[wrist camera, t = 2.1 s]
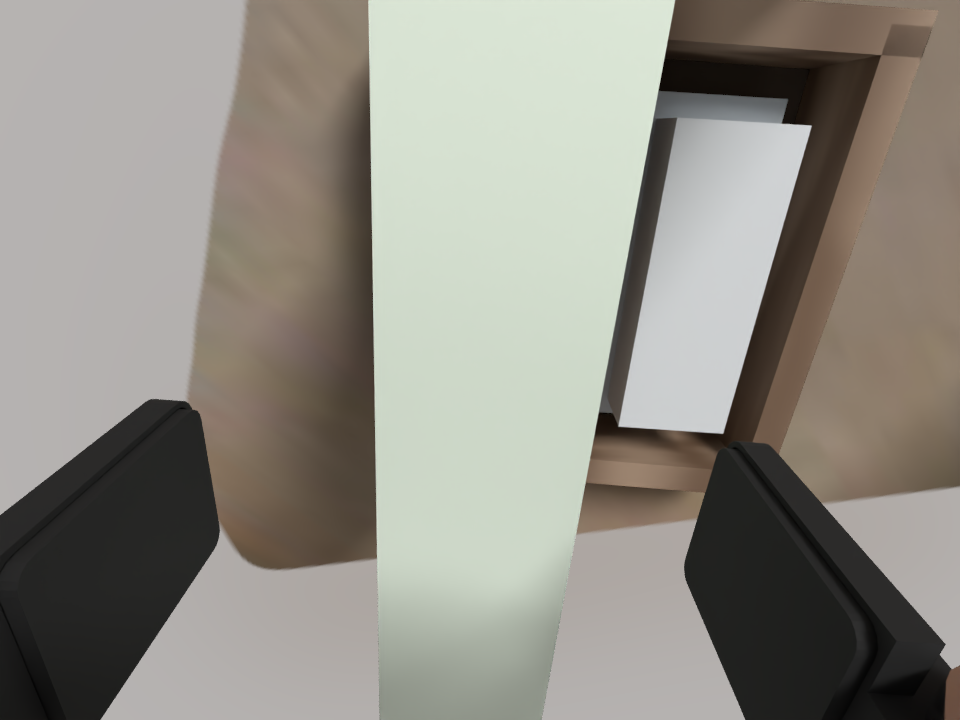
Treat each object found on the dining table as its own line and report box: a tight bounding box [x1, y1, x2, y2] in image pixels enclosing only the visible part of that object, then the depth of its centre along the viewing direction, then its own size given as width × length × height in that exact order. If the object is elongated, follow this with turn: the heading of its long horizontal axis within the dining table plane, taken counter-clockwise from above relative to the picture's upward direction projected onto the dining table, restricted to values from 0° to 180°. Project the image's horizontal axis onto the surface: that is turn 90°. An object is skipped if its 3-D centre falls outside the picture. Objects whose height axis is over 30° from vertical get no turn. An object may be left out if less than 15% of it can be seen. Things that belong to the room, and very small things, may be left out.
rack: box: [586, 0, 938, 493], centre depth 25 cm, size 20×22×7 cm
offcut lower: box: [599, 91, 788, 413], centre depth 27 cm, size 6×16×3 cm, turn 176°
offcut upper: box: [608, 118, 812, 434], centre depth 24 cm, size 5×14×3 cm, turn 177°
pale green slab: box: [369, 0, 675, 720], centre depth 19 cm, size 4×16×20 cm, turn 176°
